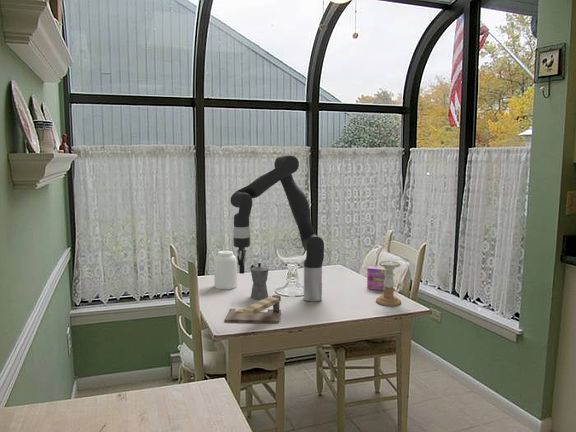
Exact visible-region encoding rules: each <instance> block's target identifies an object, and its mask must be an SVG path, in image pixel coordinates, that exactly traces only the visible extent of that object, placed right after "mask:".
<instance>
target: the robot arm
mask: <svg viewBox="0 0 576 432" xmlns="http://www.w3.org/2000/svg"><path fill="white" fill-rule="evenodd" d="M273 167H274V169H272V170H270V171H268V172H267V173H264V174H262V175H260V176H259V177H257V178H255V179H254V180H253V181H252V182H250V183H249V184H248V185H246V186H244V187H241V188H239V189H238V190H236V191H235V192H234V193H233V194H231V196H230V205H232V206H233V207H235V208H238V212H237V213H235V214H234V215H233V229H232V230H233V242H232V243H233V247H234V248H238V249H237V251H236V254H237V256H236V259H237V266H239V268H238V270H239V271H238V272H239V274H240V275H241V274H242V275H244V274H245V269H246V267H245V266H246V262H247V260H246V259H247V253H248V251H247V249H246V248H248V247H250V246H251V230H250V216H251V212H252V207H253V199H257V198H258V197H260V196H261V195H263V194H264V193H265V192H267V191H268V190H269V189H270V188H272V186H275V185H276V184H277V183H278V182H280V183H281V185H282V188H283V190H284V193H285V196H286V199H287V201H288V205H289V208H290V211H291V214H292V217H293V218H294V221H295V223H296V225H297V228H298V232H299V236H300V240H301V241H300V242H301V245H302V247H303V249H304V250H305V251H306V256H305V257H306V258H305V260H304V261H303V300H304V301H306V302H313V303H315V302H322V299H323V297H322V296H323V292H322V291H323V280H322V279H323V263H324V257H325V255H324V254H325V243H324V240H323V238H322V237H321V236H318V235H317V234H316V232H315V228H314V227H313V224H312V219H311V218H312V216H311V215H312V214H311V207H310V203H309V201H308V198H307V196H306V194H305V193H304V192H303V190H302V189H301V187H299V186H298V184H297V183H296V181H295V180H294V177H293V174H294V173H296V172H297V170H298V169H299V167H300V162H299V159H298V158H297V157H296V156H295V155H292V154H287V155H286V154H285V155H281V156H278V157H276V159H275V160H274V166H273Z"/></svg>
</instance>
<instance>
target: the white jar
mask: <svg viewBox="0 0 576 432" xmlns="http://www.w3.org/2000/svg"><path fill="white" fill-rule="evenodd" d="M213 266H214V267H213V272H214V273H213V275H214V280H213V281H214V285H213V286H214V288H215V289H217V290H231V289H236V288H237V287H238V259H237V256H235V255H234V251H231V250H225V249H224V250H220V251H218V252H217V254H216V256H215V257H214V259H213Z"/></svg>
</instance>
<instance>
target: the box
mask: <svg viewBox="0 0 576 432" xmlns="http://www.w3.org/2000/svg"><path fill="white" fill-rule="evenodd" d="M385 273H386V269H385V268H384V267H382V266H373V265H369V266H368V267H367V278H366V279H367V280H366V283H367V284H366V285H367V286H366V288H367V290H368V289H369V290H376V291H377V290H378V291H384V290H383V288H384V287H385V286H384V285H383V283H384V280H385V275H384V274H385Z"/></svg>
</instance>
